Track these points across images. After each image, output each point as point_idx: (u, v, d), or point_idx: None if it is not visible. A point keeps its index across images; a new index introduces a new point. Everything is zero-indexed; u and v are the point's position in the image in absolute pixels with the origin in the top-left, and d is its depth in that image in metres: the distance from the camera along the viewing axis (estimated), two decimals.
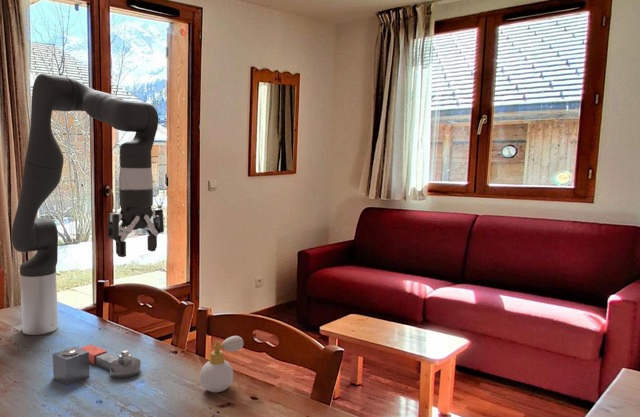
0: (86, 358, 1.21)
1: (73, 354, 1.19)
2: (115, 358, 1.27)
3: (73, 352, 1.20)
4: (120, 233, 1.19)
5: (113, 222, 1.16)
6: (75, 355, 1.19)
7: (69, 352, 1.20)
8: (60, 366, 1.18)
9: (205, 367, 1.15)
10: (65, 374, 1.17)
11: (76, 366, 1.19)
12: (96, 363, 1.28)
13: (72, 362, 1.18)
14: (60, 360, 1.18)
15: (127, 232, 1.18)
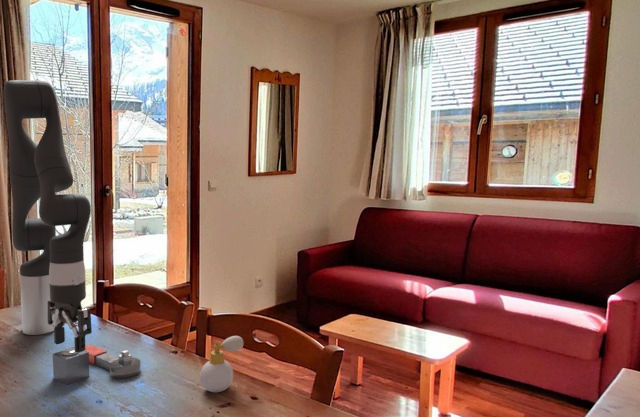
0: (86, 358, 1.21)
1: (73, 354, 1.19)
2: (115, 358, 1.27)
3: (73, 352, 1.20)
4: None
5: (89, 317, 1.16)
6: (75, 355, 1.19)
7: (69, 352, 1.20)
8: (60, 366, 1.18)
9: (205, 367, 1.15)
10: (65, 374, 1.17)
11: (76, 366, 1.19)
12: (96, 363, 1.28)
13: (72, 362, 1.18)
14: (60, 360, 1.18)
15: None
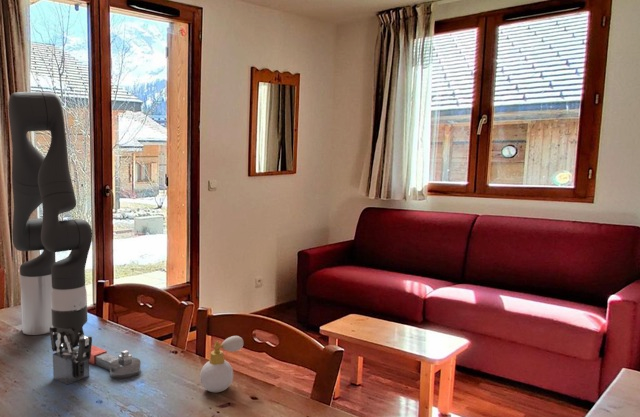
0: None
1: None
2: (115, 358, 1.27)
3: None
4: None
5: (90, 345, 1.17)
6: None
7: None
8: (60, 366, 1.18)
9: (205, 367, 1.15)
10: (65, 374, 1.17)
11: None
12: (96, 363, 1.28)
13: (72, 362, 1.18)
14: (60, 360, 1.18)
15: None
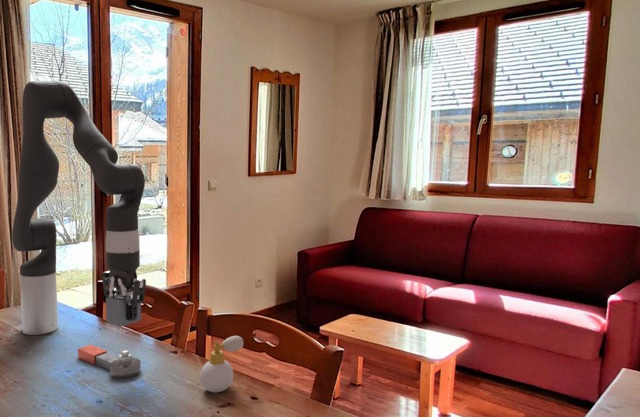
0: None
1: None
2: (115, 358, 1.27)
3: None
4: None
5: (144, 287, 1.19)
6: None
7: (122, 296, 1.21)
8: (114, 309, 1.20)
9: (205, 367, 1.15)
10: (119, 316, 1.19)
11: None
12: (96, 363, 1.28)
13: (126, 305, 1.20)
14: (114, 303, 1.20)
15: None
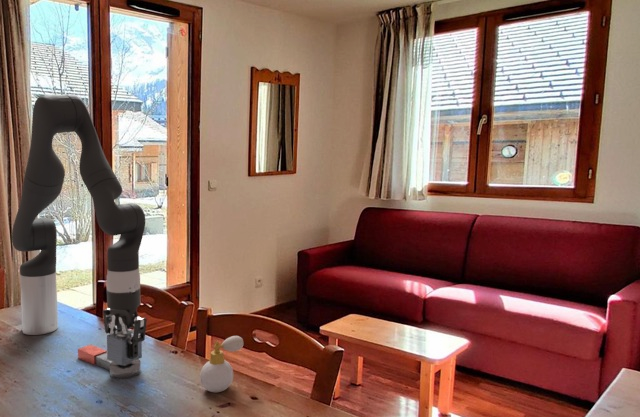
0: None
1: None
2: None
3: None
4: None
5: (144, 326, 1.20)
6: None
7: (123, 334, 1.22)
8: (115, 347, 1.21)
9: (205, 367, 1.15)
10: (120, 355, 1.20)
11: None
12: (96, 363, 1.28)
13: (126, 343, 1.21)
14: (115, 341, 1.21)
15: None
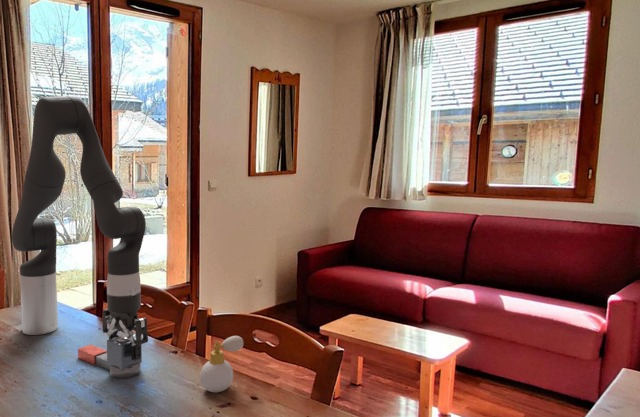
0: None
1: (127, 340, 1.22)
2: None
3: (126, 338, 1.23)
4: None
5: (146, 326, 1.20)
6: (129, 341, 1.22)
7: (123, 338, 1.23)
8: (115, 352, 1.21)
9: (205, 367, 1.15)
10: (120, 360, 1.20)
11: (129, 352, 1.22)
12: (96, 363, 1.28)
13: (126, 348, 1.21)
14: (115, 346, 1.21)
15: None
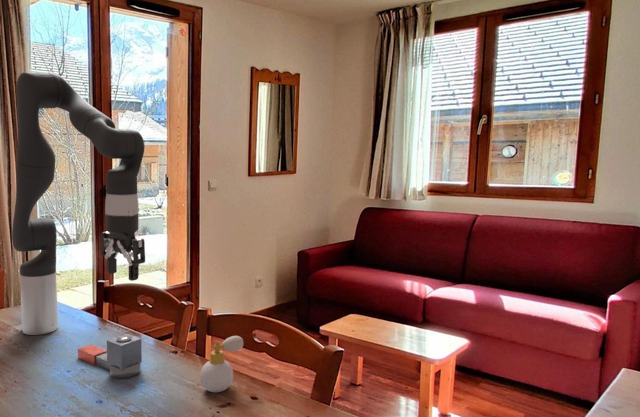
0: (139, 344, 1.24)
1: (127, 340, 1.22)
2: None
3: (126, 338, 1.23)
4: None
5: (143, 246, 1.22)
6: (129, 341, 1.22)
7: (123, 338, 1.23)
8: (115, 352, 1.21)
9: (205, 367, 1.15)
10: (120, 360, 1.20)
11: (129, 351, 1.22)
12: (96, 363, 1.28)
13: (126, 348, 1.21)
14: (115, 346, 1.21)
15: None
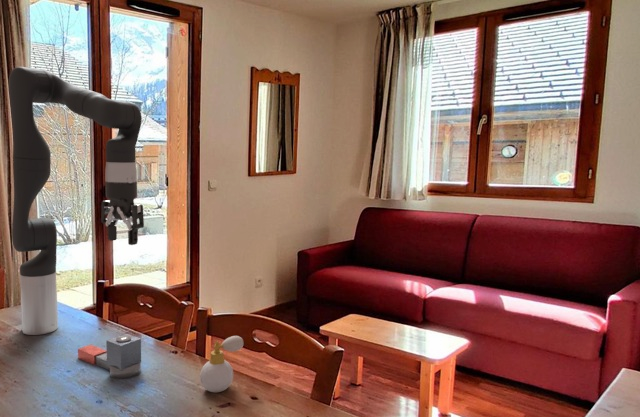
0: (138, 344, 1.24)
1: (126, 340, 1.22)
2: None
3: (126, 338, 1.23)
4: None
5: (142, 212, 1.28)
6: (128, 341, 1.22)
7: (122, 338, 1.23)
8: (114, 352, 1.21)
9: (205, 367, 1.15)
10: (119, 360, 1.20)
11: (129, 352, 1.22)
12: (96, 363, 1.28)
13: (126, 348, 1.21)
14: (114, 346, 1.21)
15: None
